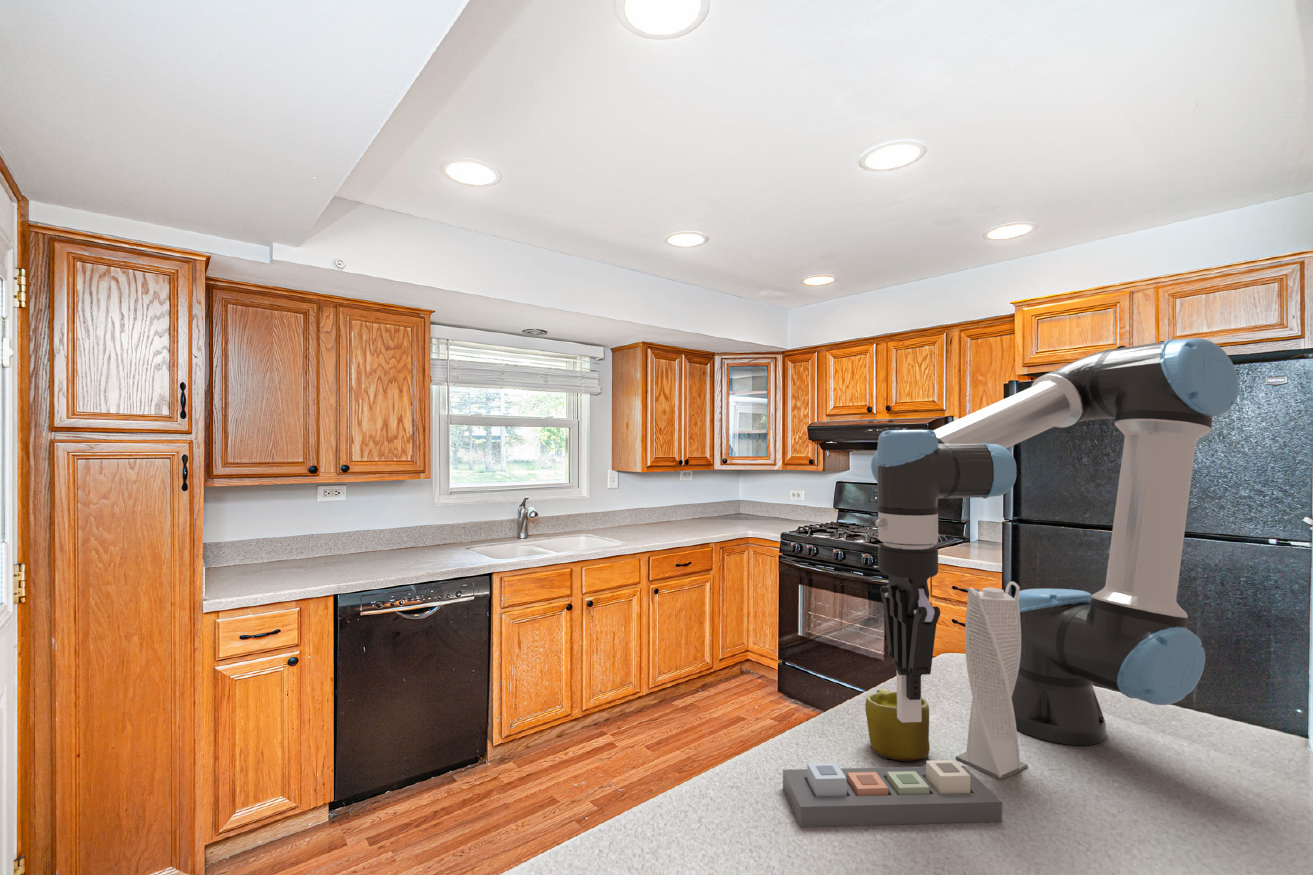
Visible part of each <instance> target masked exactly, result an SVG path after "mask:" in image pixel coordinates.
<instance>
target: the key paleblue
mask: <svg viewBox="0 0 1313 875" xmlns="http://www.w3.org/2000/svg"><path fill="white" fill-rule="evenodd" d="M840 768H841V767H840V766H839V764H838V763H837V762H809V763H808V762H807V768H806V769H807V784H808V786H809V788H810V790H811V792H812V794H813V796H814V797H837V796H847V778H846V777H845V775H844V773H843V772H842V770H841V769H840Z"/></svg>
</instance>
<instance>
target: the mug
mask: <svg viewBox="0 0 1313 875" xmlns="http://www.w3.org/2000/svg"><path fill="white" fill-rule="evenodd" d="M864 705H865V715H866V722H867V729H868V730H867V731H868V736H869V741H870V746H871V748H872V749H873V750H874V751H875V753H876V754H877V755H879V756H880V757H882V758H885V759H886V760H894V761H895V760H896V761H899V762H905V761H906V762H907V761H908V762H913V761H916V760H917V761H918V760H923V759H924V758H927V757H928V756H929V754H930V749H931V747H930V739H929V737H930V705H929V702H928V701H927V700H926V699H925V698H924V697H922V696H921V708H922V722H904V723H902V722H901V721H900V720H899V719H898V718H897V691H891V690H890V689H888V688H879V689H877V690H876V692H874V693H870V694H868V695H867V696H866V699H865V704H864Z"/></svg>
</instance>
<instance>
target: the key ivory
mask: <svg viewBox="0 0 1313 875" xmlns="http://www.w3.org/2000/svg"><path fill="white" fill-rule="evenodd" d="M961 766H962V765H960V764H959V763H958V762H957V761H956V759H952V760H951V759H948V760H947V759H946V760H944V759H943V760H926V761H925V767H926V780H927V781H928V782H929V783H930V784H931V786H932V787H933V788H934V789H935V790H936V791H937V792H938V793H939V794H964V793H970V775H969V774H968V773H967V772H966V771H965V770H964V769H963V768H962V767H961Z"/></svg>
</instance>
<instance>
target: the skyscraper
mask: <svg viewBox="0 0 1313 875" xmlns="http://www.w3.org/2000/svg"><path fill="white" fill-rule="evenodd" d="M1011 586H1014V587H1015V594H1014V596H1015V599H1014V596H1012V595H1010V594H1009V593H1010V592H1009V591H1010V589H1011ZM1020 589H1021V588H1020V586H1019V585H1018V583H1016V582H1015V581H1014V580H1013V581H1009V582H1008V583H1007V585H1006V587H1005V591H1004V589H1002V588H996V587H983V588H982V591H980V590H979V591H977V590H976V589H975V588H973V587H972V586H971V587H969V589H968V591H967V592H968V593H967V602H966V613H965V629H964V631H965V632H964V646H965V647H964V650H965V652H964V653H965V662H966V669H967V676H968V681H969V687H970V691H971V695H972V698H971V706H970V707H971V708H970V714H969V721H968V731H967V732H968V733H967V740H966V741H967V743H966V751H965V752H962V753H960V754H957V755H956V756H955V760H957V761H959V762H961V763H963V764H965V765H967V766H970V767H971V768H974V769H976V770H978V771H980V772H983V773H984V774H987V775H988V776H991V777H993V778H995V779H997V780H998V781H999V780H1000V781H1002V780H1004V779H1006V778H1008V777H1010V776H1012V775H1015V774H1017V773H1019V772H1021V771H1023V770H1025V769H1027V768H1028V767H1029V766H1028V763H1026V762H1023V761H1021V756H1020V747H1019V740H1018V739H1019V738H1018V730H1017V729H1016V721H1015V715H1014V709H1013V703H1012V698H1011V697H1012V694H1013V691H1014V687H1015V684H1016V680H1017V675H1018V670H1019V665H1020V657H1021V623H1020V611H1019V601H1018V600H1019V591H1021V590H1020Z"/></svg>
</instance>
